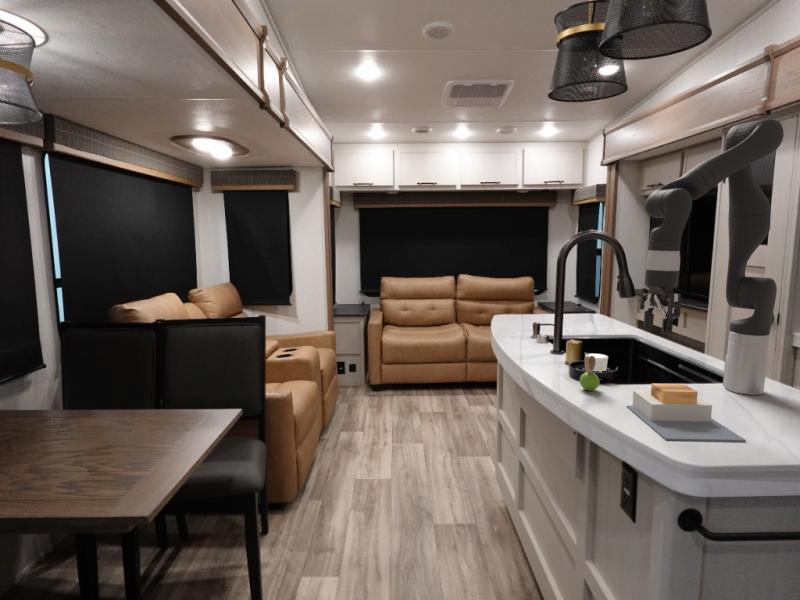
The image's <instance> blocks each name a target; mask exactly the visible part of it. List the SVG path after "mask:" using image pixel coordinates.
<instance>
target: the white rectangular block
mask: <svg viewBox="0 0 800 600" xmlns="http://www.w3.org/2000/svg"><path fill="white" fill-rule="evenodd" d="M632 406H634V407H635V408H636V409H637V410H639V411H640V412H641V413H642V414H643V415H645V416H646V417H647V418H648V419H649V420H651V421H703V422H711V418H712V412H713V411H712V410H713V404H711V403H710V402H707V401H706V400H704V399H703V398H701V397H699V396H697V404H686V403H662V402H660V401H659V400H657V399H656V398H655V397H653V396H652V395H651V390H633V392H632Z"/></svg>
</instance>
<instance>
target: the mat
mask: <svg viewBox="0 0 800 600" xmlns="http://www.w3.org/2000/svg"><path fill="white" fill-rule="evenodd" d="M626 408H627V409H628V410H629V411H631V412H632V413H633V414H634V415H636V416H637V417H638V418H639V419H640V420H642V421H643V422H644V424H646V425H647V426H648V427H649V428H651V429H652V430H653V431H655V433H656V434H658V435H659V436H660V437H661V438H662V439H663V440H665V441H684V442H685V441H691V442H696V441H697V442H700V441H701V442H734V443H735V442H737V443H739V442H743V443H745V442H746V441H747V440H746V439H745V438H743V437H742V436H740V435H739V434H737V433H736V432H734V431H732V430H731V429H729V428H728V427H726V426H724V425H723V424H722V423H720V422H718V421H717V420H715V419H713V417H711V422H703V421H651V420H649V419H648V418H647V417H646V416H645V415H643V414H642V413H641V412H640V411H639V410H637V409H636V408H635V407H634V406H633V405H626ZM693 440H695V441H693Z"/></svg>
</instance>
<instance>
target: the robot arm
mask: <svg viewBox="0 0 800 600" xmlns="http://www.w3.org/2000/svg"><path fill="white" fill-rule="evenodd" d="M784 133H785V132H784V128H783V125H782V124H781V122H780V121H778V120H777V119H772V118H764V119H760V120H753V121H748V122H743V123H740V124H736V125H734V126H732V127H730V129H729V130H728V132H727V134H726V137H725V141H724V151H723V152H722V153H719V154H716V155H714V156H712V157H709V158H708V159H706V160H704V161H702V162H700V163H698V164H697V165H695V166H694V167H693V168H691V169H690V170H688V171H687V172H685V173H684V174H683V175H682V176H681V177H679V178H677V179H675V180H673V181H671V182H669V183H667V184H665V185H662V186H661V187H659V188H658V189H655V190H654V191H653V192H652V193H650V194H649V196H648V197H647V199H646V200H645V201H646V202H645V203H644V204H645V206H644V208H645V212H646V214H648V216H650V217H651V218H656V219H663V221H662V224H661V225H660V226H658V227H654V228H653V229H652V230H651V231H650V234H649V238H648V239H649V240H648V241H649V242H648V251H647V255H646V256H647V257H646V261H645V262H646V263H645V275H644V277H645V278H644V286H646V287H645V288H644V287H642V288H641V292H640V301H639V309H640V310H642V312H643V313H644V315H643V327H645V328H653V326H654V318H655V313H654V312H655V311H656V309H658V310H659V312H661V315H662V322H661V324H662V325H661V333H662V334H666V335H667V334H668V335H669V334H670V335H671V334H672V332H673V325H674V320H675V319H676V318H680V317H681V307H682V306H681V305H682V294H681V293H673V291H674V290H673V289H674V288H677V287H678V286H679V279H680V278H679V277H680V267H681V254H680V253H681V243H682V234H683V232H684V229H685V228H686V224H687V222H688V219H689V217H690V214H691V211H692V207H693V201H694V200H695V201H696V200H697V199H699V198H701V197H702V196H704V195H705V194H706V193H708V192H709V191H711V190H712V189H713V188H715V187H716V186H717V185H719V184H720V183H722V181H724V180H726V179H727V180H728V181H727V182H728V215H727V216H728V220H727V221H728V226H727V227H728V261H727V262H728V263H727V274H726V284H725V285H726V286H725V298H726V302H727V304H728V305H729V306H730V307H731V308H738V309H747V310H754V311H753V314H752V315H751V316H748V317H746V318H742V319H735V320H733V321H732V320H731V322H730V323H729V330H728V331H729V332H728V345H727V354H725V360H724V366H723V367H724V368H723V369H724V370H723V371H724V372H723V378H722V385H723V386H724V388H725V389H726V390H728V391H730V392H733V393H736V394H737V393H738V394H742V395H747V396H748V395H749V396H761V395H764V393H765V384H766V375H767V374H766V373H767V363H768V358H769V357H768V356H769V344H770V334H771V328H772V324H773V317H774V311H775V305H776V299H777V291H778V290H777V283H776V281H775V280H774V279H773V278H772V277H771V278H770V277H763V276H761V277H760V276H759V277H758V276H746V269H747V265H748V262H749V259H751V256H752V255H753V254H754V252H755V251H756V250H757V249H758V248H759V246H760V245H761V244H762V243H763V241H764V240H765V239H766V238H767V236H768V235H769V232H770V230H771V220H772V219H771V217H772V214H771V208H772V207H771V203H770V201H769V198H768V197H767V196H766V194H765V193H764V191H763V190H762V188H761V187H760V186H759V184H758V183H757V181H756V180H755V178H754V174H753V169H752V164H753V163H755V162H756V161H757V162H758V161H759V160H761V159H762V158H765V157H767V156H770V155H771V154H772V153H774V152H775V151H776V150H778V149H779V147H780V146H781V144H782V142H783V139H784Z"/></svg>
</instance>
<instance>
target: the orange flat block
mask: <svg viewBox="0 0 800 600" xmlns="http://www.w3.org/2000/svg"><path fill="white" fill-rule="evenodd" d="M650 391H651V395H652V396H653V397H655V398H656V399H657V400H659V401H660V402H662V403H686V404H697V397H698V393H699V391H697V390H696V389H693V388H692V387H690V386H688V385H686V384H685V383H651V386H650Z"/></svg>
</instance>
